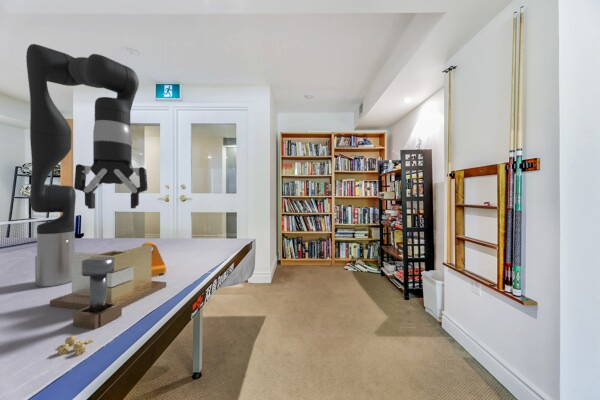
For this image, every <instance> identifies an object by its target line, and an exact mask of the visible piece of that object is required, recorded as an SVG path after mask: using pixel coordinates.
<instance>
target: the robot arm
mask: <svg viewBox="0 0 600 400" xmlns="http://www.w3.org/2000/svg"><path fill="white" fill-rule="evenodd" d="M25 57H26V59H25V60H26V70H27V80H28V81H27V82H28V88H29V89H28V90H29V100H30V101H29V102H30V106H29V107H30V121H29V137H30V138H29V140H30V155H31V178H30V193H29V194H30V195H29V197H30V198H29V200H30V208H31V210H32V211H33V212H34V213H40V214H41V213H45V214H46V213H62V215H60V216H59V217H56V218H55V219H52V220H51V221H46V222H43V223H40V224H38V225H37V227H36V255H35V257H34V260H35V263H34V264H35V265H34V269H35V270H34V273H35V274H34V277H35V279H34V280H35V281H34V284H35V285H36V286H37V287H44V288H45V287H55V286H60V285H65V284H68V283H72V253H73V252H76V251H75V250H76V249H75V248H76V247H75V246H76V245H75V243H76V241H75V239H76V238H75V236H76V235H75V232H76V231H75V225H76V224H75V211H76V197H77V195H76V191H80V192H83V193H84V206H85V207H87V208H88V210H90V209H91V210H92V209H96V193H95V191H96V190H97V189H98V188H99V187H100V186H102V185H103V184H106V185H112V184H116V185H122V184H124V185H125V186H126V187H127V188H128V189H129V191H131V193H130V209H136V208H137V207H138V206H139V205H140V196H139V195H140V194H141V193H143V192H147V191H148V179H147V178H148V177H147V169H146V168H145V167H141V166H140V167H133V164H132V162H133V161H132V152H133V151H132V149H133V148H132V145H133V140H132V129H131V112H132V111H131V110H132V108H133V103H134V100H135V97H136V94H137V92H138V89H139V84H140V82H139V81H140V80H139V77H138V75H137V73H136V71H135V70H134V69H132V68H131V67H129V66H127V65H124V64H122V63H120V62H118V61H115V60H113V59H111V58H109V57H106V56H104V55H102V54H99V53H98V54H97V53H92V54H90V55H89V56H88V57H86V56H85V57H84V56H80V57H79V56H77V57H74V56H72V55H70V54H68V53H65V52H62V51H60V50H59V51H58V50H56V49H53V48H50V47H46V46H43V45H41V44H36V43H32V44H31V43H30V44H29V46H28V47H27V49H26V55H25ZM48 83H53V84H58V85H60V86H61V85H62V86H67V87H73V86H74V87H75V86H81V85H84V86H86V87H91V88H95V89H97V88H98V89H105V90H108V91H111V92H114V93H116V97H108V96H101V97H98V98H96V99H95V102H94V126H93V136H92V137H93V138H92V139H93V141H92V142H93V143H92V144H93V146H92V148H93V150H92V152H93V154H92V155H93V159H92V161H93V162H92V165H83V164H79V163H77V164H76V165H75V171H74V172H75V174H74V183H73V185H74V186H71V185H61V184H60V185H59V184H58V185H57V184H56V185H54V184H51V185H49V184H45V183H46V181H47V179H48V177H49V175H50V174H51V172H52V171H53V169H55V168H56V166H57V165H58V164H59V163H61V162H62V161H63V160H64V159H65V158H66V157H67V155H68V154H69V153H70V151H71V150H72V128H71V126H70V124H69V123H68V121H67V120H66V118H65V117H64V115H63V114H62V113H61V112H60V110H59V109H58V108H57V106H56V104H55V102H53V99H52V97H51V95H50V92H49V89H48V88H49V87H48ZM90 172H92V174H94V175H95V176H94V177H93V178H92V179H91V180H90V181H89V183H88V185H87V186H86V183H87V175H89V174H90ZM134 173H135V175H136V176H138V177H139V186H138V187H137V185H135V183H134V182H133V181H132V179H131V178H130V177H131V176H132V175H133V174H134Z"/></svg>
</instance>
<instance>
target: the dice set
mask: <svg viewBox="0 0 600 400" xmlns="http://www.w3.org/2000/svg"><path fill="white" fill-rule="evenodd" d="M93 342H94V340H93V339H92V338H90V339H88V340H85V341H83V340H77V341H76V336H74V335H73V336H69V337H67V338H66V339H65V340H64V344H61V345H59V346H58V347H57V355H58V356H64V355H66V354H68V353H69V350H70V348H71V347H72V349H73V352H74V355H75V356H77V355H78V356H80V355H81V356H82V355H83V354H85V353H86V345H89V344H91V343H93Z"/></svg>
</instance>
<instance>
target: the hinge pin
mask: <svg viewBox="0 0 600 400" xmlns="http://www.w3.org/2000/svg"><path fill="white" fill-rule="evenodd" d="M113 271H114V257H97V258H91V259H86V260H83V261H82V276H90V313H99V312H101V311H103V310H105V309H107V274H108V273H111V272H113Z"/></svg>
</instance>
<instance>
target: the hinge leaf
mask: <svg viewBox="0 0 600 400" xmlns="http://www.w3.org/2000/svg"><path fill="white" fill-rule="evenodd" d="M96 254H100V253H98V252H82V251H81V252H79V251H75V252H73V253H72V281H71V293H81V294H90V276H82V261H83V260H86V259H90V256H91V255H96ZM132 279H134V266H130V267H127V268H124V269H120V270H117V271H114V272H111V273H108V274H107V287H113V286H116V285H119V284H121V283H124V282H127V281H129V280H132Z"/></svg>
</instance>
